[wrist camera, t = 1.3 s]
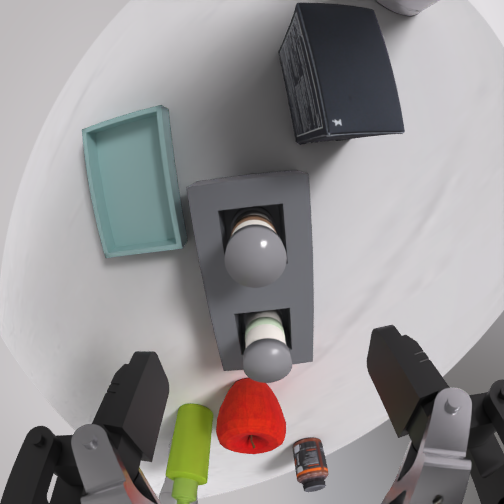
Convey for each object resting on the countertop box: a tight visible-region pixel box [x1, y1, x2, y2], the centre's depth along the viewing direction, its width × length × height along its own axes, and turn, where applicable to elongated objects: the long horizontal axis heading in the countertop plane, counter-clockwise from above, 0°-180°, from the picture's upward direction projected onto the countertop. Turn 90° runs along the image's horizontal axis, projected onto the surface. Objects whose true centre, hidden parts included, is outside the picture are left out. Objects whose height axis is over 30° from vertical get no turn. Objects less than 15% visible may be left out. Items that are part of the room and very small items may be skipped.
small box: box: [279, 3, 405, 145], centre depth 18 cm, size 11×6×10 cm, turn 10°
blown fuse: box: [224, 206, 287, 288], centre depth 23 cm, size 4×4×9 cm
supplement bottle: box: [293, 438, 328, 492], centre depth 38 cm, size 6×6×11 cm
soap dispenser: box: [166, 404, 213, 504], centre depth 29 cm, size 6×7×20 cm
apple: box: [216, 378, 286, 454], centre depth 31 cm, size 9×9×11 cm
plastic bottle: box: [159, 440, 198, 504], centre depth 33 cm, size 6×7×20 cm
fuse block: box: [186, 170, 314, 383], centre depth 25 cm, size 20×10×10 cm, turn 6°
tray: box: [82, 105, 188, 258], centre depth 25 cm, size 14×9×2 cm, turn 6°
